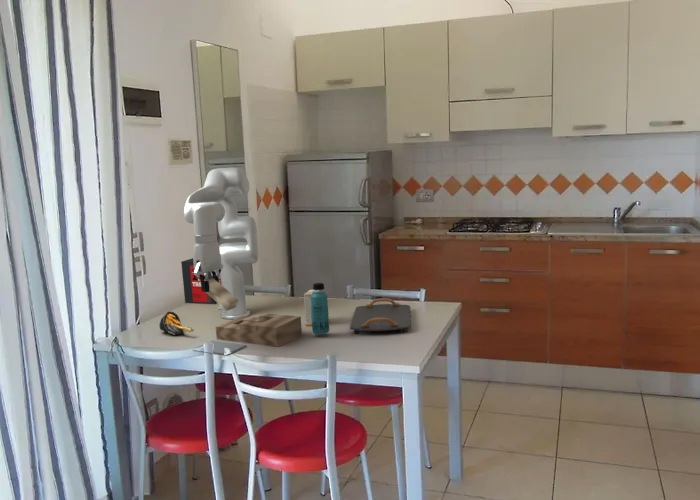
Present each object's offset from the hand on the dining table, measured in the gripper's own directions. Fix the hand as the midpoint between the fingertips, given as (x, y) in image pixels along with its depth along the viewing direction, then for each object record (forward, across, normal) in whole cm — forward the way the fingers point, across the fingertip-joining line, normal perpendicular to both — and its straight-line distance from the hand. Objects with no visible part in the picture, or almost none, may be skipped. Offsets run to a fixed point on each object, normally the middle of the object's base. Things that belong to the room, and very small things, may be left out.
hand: (210, 289), depth 233 cm
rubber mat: (+22, 0, +2) cm, 22 cm away
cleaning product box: (+21, -57, -55) cm, 82 cm away
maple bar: (+3, 0, +3) cm, 4 cm away
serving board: (+22, -50, +42) cm, 69 cm away
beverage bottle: (+22, -26, +29) cm, 44 cm away
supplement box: (+22, -40, +17) cm, 48 cm away
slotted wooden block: (+22, -17, +7) cm, 28 cm away
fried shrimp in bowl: (+22, -9, -27) cm, 36 cm away
